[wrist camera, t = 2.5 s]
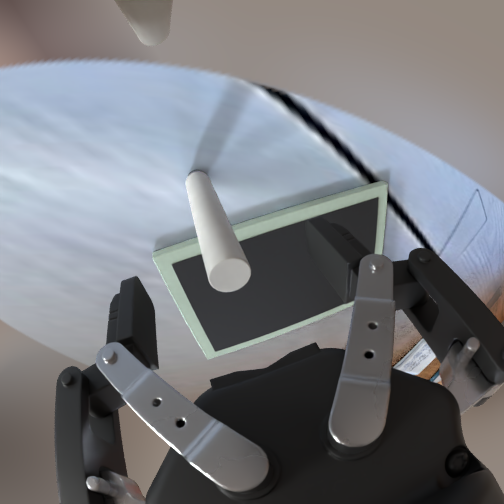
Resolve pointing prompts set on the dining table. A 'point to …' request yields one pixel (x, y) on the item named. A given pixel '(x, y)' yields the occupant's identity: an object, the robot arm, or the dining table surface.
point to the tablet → (270, 272)
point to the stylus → (216, 236)
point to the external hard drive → (436, 378)
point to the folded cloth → (416, 359)
